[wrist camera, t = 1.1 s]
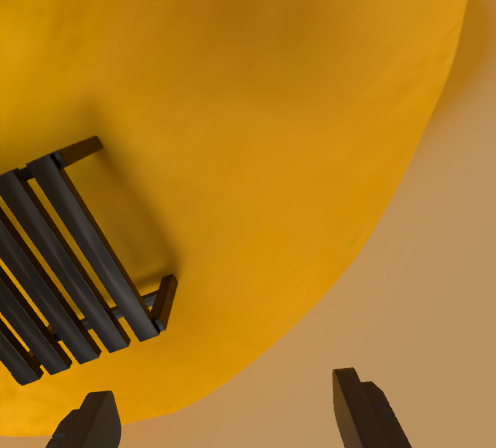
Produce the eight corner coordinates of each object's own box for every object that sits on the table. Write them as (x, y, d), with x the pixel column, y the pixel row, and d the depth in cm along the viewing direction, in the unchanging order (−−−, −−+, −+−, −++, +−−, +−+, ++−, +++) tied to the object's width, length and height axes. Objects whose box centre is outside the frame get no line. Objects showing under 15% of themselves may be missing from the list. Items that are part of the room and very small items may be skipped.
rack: (-41, 195, 33) (-121, 227, 25) (96, 135, 31) (55, 150, 24) (58, 329, 38) (16, 388, 31) (178, 283, 37) (165, 333, 30)
